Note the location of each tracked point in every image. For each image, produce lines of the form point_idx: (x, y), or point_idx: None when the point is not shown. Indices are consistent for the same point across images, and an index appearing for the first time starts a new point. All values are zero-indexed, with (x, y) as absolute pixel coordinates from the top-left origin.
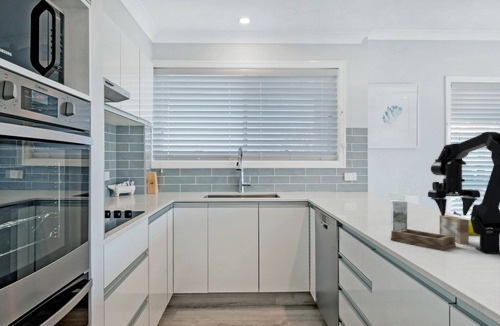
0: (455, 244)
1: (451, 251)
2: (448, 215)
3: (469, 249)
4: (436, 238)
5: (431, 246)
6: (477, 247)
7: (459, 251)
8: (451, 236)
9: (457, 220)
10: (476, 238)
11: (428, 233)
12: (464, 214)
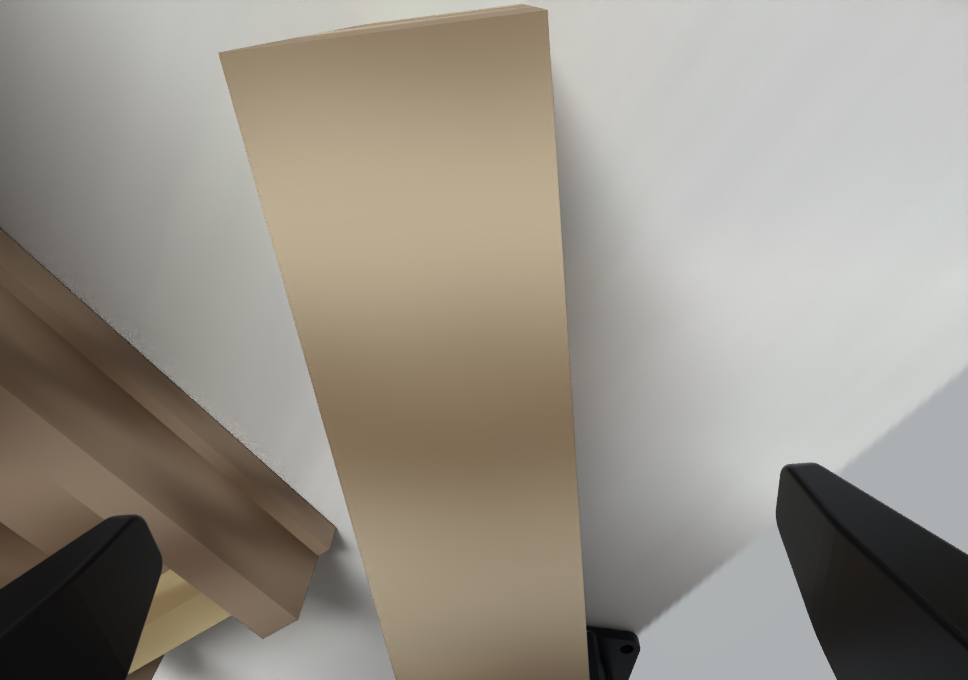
0: (329, 543)
1: (216, 660)
2: (533, 89)
3: None
4: None
5: None
6: None
7: (284, 662)
8: (263, 604)
9: (395, 658)
10: (907, 158)
11: (10, 446)
12: (786, 521)
